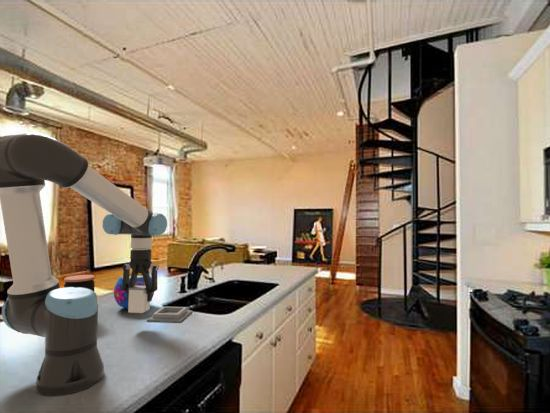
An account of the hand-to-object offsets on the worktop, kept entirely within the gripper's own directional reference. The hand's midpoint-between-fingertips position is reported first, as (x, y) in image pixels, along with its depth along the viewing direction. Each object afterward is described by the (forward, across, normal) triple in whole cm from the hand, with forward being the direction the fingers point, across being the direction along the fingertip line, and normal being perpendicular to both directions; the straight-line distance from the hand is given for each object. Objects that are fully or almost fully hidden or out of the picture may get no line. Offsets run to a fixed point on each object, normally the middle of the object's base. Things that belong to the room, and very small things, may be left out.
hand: (139, 309), depth 126 cm
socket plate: (+7, -6, -15) cm, 17 cm away
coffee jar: (+7, +28, -5) cm, 29 cm away
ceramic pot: (+7, +16, -26) cm, 31 cm away
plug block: (0, 0, 0) cm, 1 cm away
